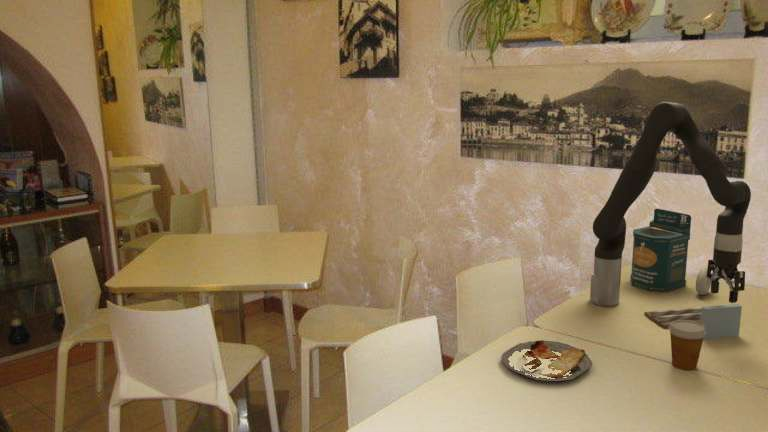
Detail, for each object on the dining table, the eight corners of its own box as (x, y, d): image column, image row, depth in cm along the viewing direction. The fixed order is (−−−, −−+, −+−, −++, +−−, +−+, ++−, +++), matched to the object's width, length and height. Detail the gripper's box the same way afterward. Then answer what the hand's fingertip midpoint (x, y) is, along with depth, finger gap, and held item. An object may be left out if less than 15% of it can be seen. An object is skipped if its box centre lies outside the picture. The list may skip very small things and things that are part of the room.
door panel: (703, 339, 197) (706, 309, 195) (699, 336, 199) (702, 306, 197) (738, 336, 199) (741, 306, 197) (734, 333, 201) (737, 303, 199)
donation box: (685, 286, 245) (691, 215, 238) (658, 294, 237) (663, 221, 230) (649, 275, 258) (654, 207, 252) (622, 282, 250) (627, 213, 244)
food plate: (535, 339, 200) (535, 329, 199) (605, 362, 184) (605, 351, 183) (487, 368, 183) (487, 357, 182) (559, 397, 167) (560, 384, 166)
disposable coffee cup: (700, 360, 184) (704, 321, 181) (705, 375, 175) (708, 334, 172) (664, 356, 187) (667, 317, 184) (667, 370, 178) (670, 330, 175)
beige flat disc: (703, 299, 231) (705, 272, 228) (693, 297, 233) (695, 271, 231) (711, 291, 238) (714, 266, 236) (701, 289, 240) (704, 264, 238)
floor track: (664, 328, 206) (664, 321, 206) (644, 314, 218) (644, 307, 217) (737, 322, 210) (738, 315, 209) (714, 309, 221) (714, 302, 221)
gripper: (701, 241, 199) (697, 291, 203) (732, 254, 185) (727, 306, 189) (723, 240, 200) (719, 289, 204) (755, 252, 186) (750, 304, 190)
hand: (723, 297), depth 196 cm, fingers open, 8 cm apart
